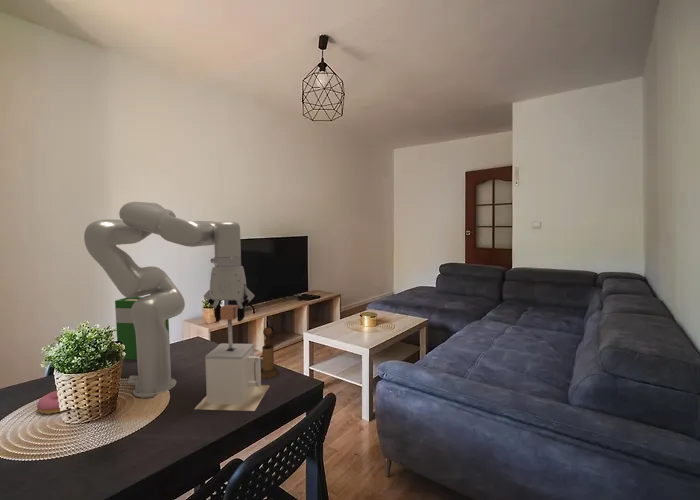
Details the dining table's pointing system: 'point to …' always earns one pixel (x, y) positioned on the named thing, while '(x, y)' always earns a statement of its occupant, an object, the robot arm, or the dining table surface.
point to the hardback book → (128, 326)
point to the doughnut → (49, 403)
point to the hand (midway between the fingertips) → (229, 319)
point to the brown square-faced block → (229, 320)
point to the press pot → (231, 374)
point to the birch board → (247, 406)
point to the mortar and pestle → (268, 356)
